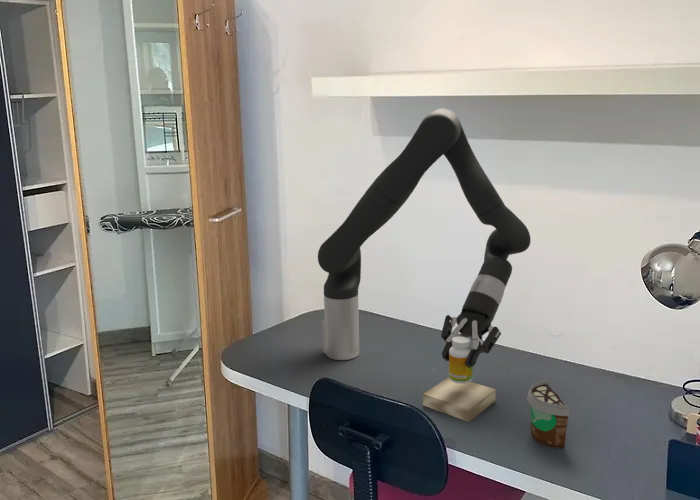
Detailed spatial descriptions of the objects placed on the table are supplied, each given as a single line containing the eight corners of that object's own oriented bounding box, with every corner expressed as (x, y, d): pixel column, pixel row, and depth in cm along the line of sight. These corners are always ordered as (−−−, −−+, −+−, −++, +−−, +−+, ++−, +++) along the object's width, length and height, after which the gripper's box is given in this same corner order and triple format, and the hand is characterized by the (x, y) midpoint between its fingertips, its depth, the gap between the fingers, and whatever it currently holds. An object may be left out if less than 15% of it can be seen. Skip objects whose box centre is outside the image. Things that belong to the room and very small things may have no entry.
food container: (517, 422, 146) (519, 380, 143) (544, 421, 146) (547, 379, 143) (537, 453, 134) (540, 408, 131) (567, 451, 134) (570, 406, 132)
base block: (423, 405, 154) (423, 393, 153) (450, 387, 163) (451, 375, 162) (468, 421, 146) (469, 409, 146) (495, 401, 155) (495, 389, 154)
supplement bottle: (472, 385, 150) (473, 344, 147) (447, 383, 151) (448, 343, 149) (472, 374, 155) (473, 335, 153) (449, 373, 156) (449, 334, 154)
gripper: (451, 285, 158) (423, 348, 152) (507, 296, 149) (479, 364, 143) (463, 300, 163) (435, 361, 158) (517, 312, 154) (490, 378, 149)
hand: (456, 362), depth 150 cm, fingers closed on supplement bottle, 5 cm apart
